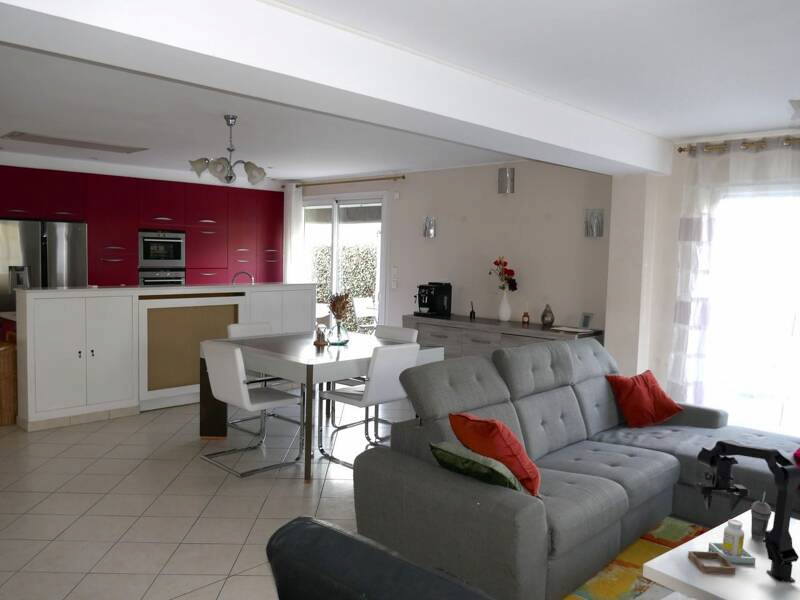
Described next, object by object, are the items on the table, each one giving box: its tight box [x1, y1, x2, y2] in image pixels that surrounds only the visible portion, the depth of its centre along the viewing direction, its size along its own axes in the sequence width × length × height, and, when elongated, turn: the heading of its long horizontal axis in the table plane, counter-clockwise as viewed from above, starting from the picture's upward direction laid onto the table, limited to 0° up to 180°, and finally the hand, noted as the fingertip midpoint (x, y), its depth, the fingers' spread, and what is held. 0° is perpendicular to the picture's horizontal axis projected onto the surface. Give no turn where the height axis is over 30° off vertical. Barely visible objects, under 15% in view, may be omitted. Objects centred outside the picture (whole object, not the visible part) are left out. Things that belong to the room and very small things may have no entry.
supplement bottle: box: [722, 518, 745, 557], centre depth 239 cm, size 7×7×13 cm
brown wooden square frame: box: [687, 550, 737, 576], centre depth 231 cm, size 11×11×2 cm
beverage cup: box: [750, 491, 772, 542], centre depth 255 cm, size 7×7×20 cm
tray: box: [708, 541, 756, 566], centre depth 239 cm, size 11×11×2 cm
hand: (719, 510), depth 249 cm, fingers open, 9 cm apart
